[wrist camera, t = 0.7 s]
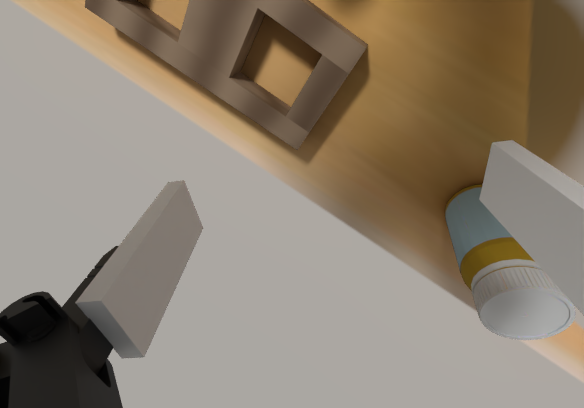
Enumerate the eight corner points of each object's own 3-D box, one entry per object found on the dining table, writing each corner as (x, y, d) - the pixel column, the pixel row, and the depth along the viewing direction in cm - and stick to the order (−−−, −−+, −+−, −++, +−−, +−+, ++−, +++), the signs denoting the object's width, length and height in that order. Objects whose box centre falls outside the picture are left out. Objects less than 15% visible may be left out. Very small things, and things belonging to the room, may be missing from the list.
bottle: (508, 229, 36) (572, 347, 24) (443, 232, 38) (471, 339, 26) (516, 178, 32) (595, 285, 20) (444, 184, 34) (475, 283, 22)
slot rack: (106, 6, 33) (84, 7, 30) (124, -137, 26) (97, -151, 23) (303, 140, 36) (297, 150, 33) (367, 44, 29) (366, 48, 26)
